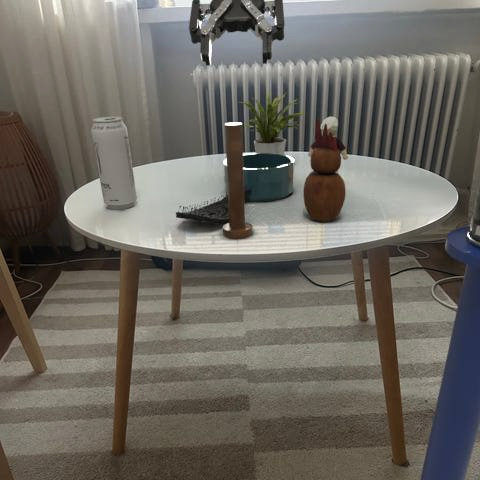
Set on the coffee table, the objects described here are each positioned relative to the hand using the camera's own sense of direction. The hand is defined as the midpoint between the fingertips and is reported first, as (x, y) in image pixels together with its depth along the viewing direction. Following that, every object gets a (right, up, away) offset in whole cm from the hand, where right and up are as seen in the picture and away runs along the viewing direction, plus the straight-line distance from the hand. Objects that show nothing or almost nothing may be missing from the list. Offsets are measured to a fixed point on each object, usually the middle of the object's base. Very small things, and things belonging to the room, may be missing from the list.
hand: (236, 60), depth 73 cm
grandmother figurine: (+18, -11, +26) cm, 33 cm away
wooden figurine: (+14, -22, +8) cm, 27 cm away
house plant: (+7, -5, +37) cm, 38 cm away
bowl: (+4, -14, +22) cm, 27 cm away
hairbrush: (-1, -20, +13) cm, 23 cm away
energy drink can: (-21, -17, +18) cm, 33 cm away
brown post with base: (0, -25, +3) cm, 25 cm away
